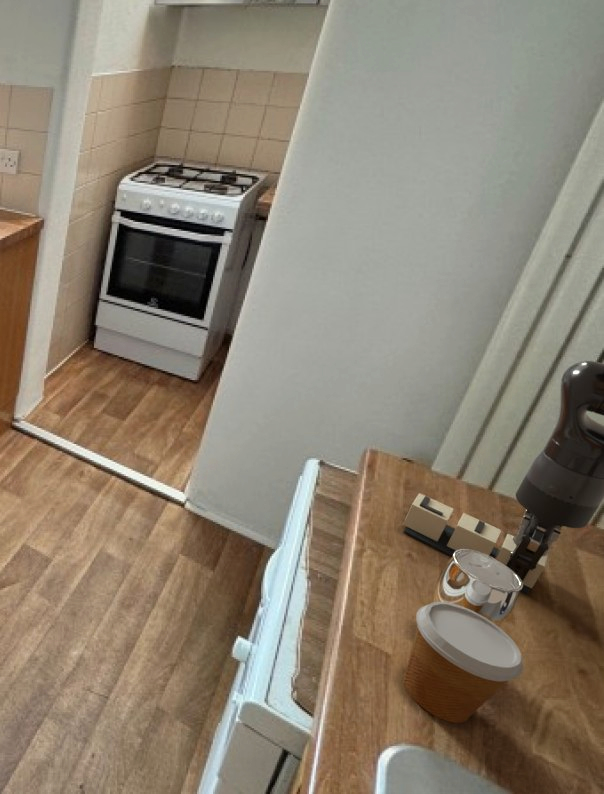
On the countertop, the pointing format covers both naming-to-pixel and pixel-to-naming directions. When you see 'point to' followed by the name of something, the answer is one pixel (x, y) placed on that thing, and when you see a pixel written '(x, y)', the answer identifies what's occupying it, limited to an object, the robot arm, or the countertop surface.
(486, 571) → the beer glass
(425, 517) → the tile
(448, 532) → the word mat
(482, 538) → the tile
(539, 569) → the tile
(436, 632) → the disposable coffee cup
